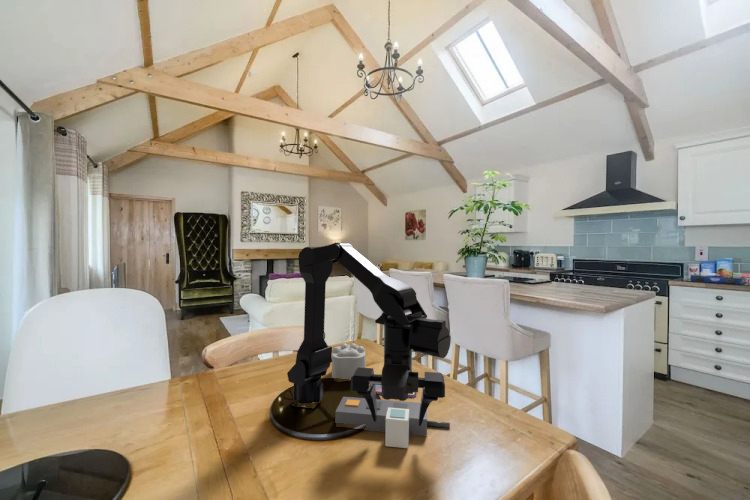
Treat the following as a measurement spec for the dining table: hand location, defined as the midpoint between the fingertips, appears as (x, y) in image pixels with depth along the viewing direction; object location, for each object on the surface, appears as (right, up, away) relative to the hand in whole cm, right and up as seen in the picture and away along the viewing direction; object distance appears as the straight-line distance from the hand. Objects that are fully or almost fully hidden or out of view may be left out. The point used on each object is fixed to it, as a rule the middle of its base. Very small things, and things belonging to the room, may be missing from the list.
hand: (397, 422), depth 65 cm
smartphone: (0, -4, +24) cm, 24 cm away
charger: (0, -4, +1) cm, 4 cm away
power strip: (-1, -4, +6) cm, 7 cm away
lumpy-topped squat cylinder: (-13, -4, +35) cm, 37 cm away
